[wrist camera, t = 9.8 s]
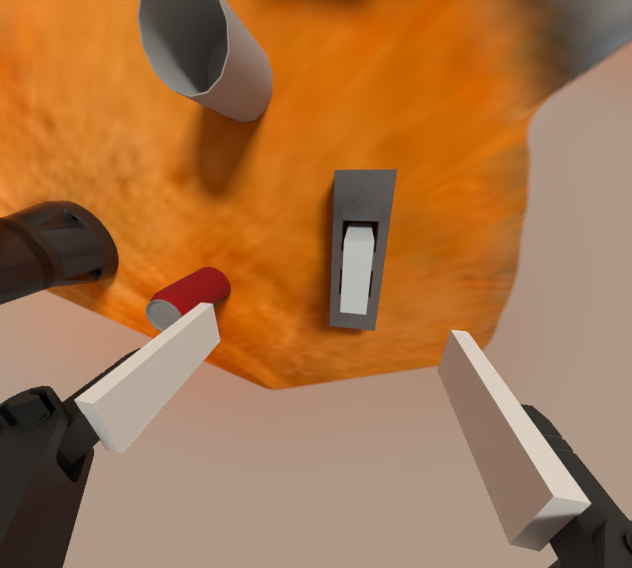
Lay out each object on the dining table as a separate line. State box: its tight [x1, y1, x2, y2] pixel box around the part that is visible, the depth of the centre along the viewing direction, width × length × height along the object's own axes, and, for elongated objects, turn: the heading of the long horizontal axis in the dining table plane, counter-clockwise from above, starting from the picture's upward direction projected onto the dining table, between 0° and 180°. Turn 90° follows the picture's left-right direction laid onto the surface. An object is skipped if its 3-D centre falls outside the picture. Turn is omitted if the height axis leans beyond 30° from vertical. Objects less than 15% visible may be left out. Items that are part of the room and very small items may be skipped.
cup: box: [137, 0, 273, 123], centre depth 23 cm, size 8×8×10 cm
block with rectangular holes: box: [329, 170, 397, 331], centre depth 32 cm, size 7×22×4 cm, turn 179°
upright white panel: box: [340, 223, 374, 315], centre depth 29 cm, size 9×3×10 cm, turn 179°
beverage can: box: [146, 267, 230, 332], centre depth 36 cm, size 7×7×12 cm
